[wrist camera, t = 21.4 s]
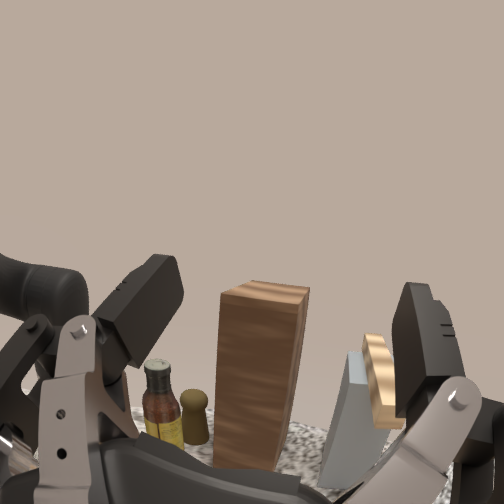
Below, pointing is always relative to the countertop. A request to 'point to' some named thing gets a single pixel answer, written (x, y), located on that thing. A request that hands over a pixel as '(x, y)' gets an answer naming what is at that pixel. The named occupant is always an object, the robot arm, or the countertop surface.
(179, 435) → the sauce bottle
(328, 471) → the grey rectangular block
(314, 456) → the countertop surface
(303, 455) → the countertop surface
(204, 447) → the countertop surface
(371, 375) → the beech bar
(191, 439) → the cork
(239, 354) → the tall walnut stand
